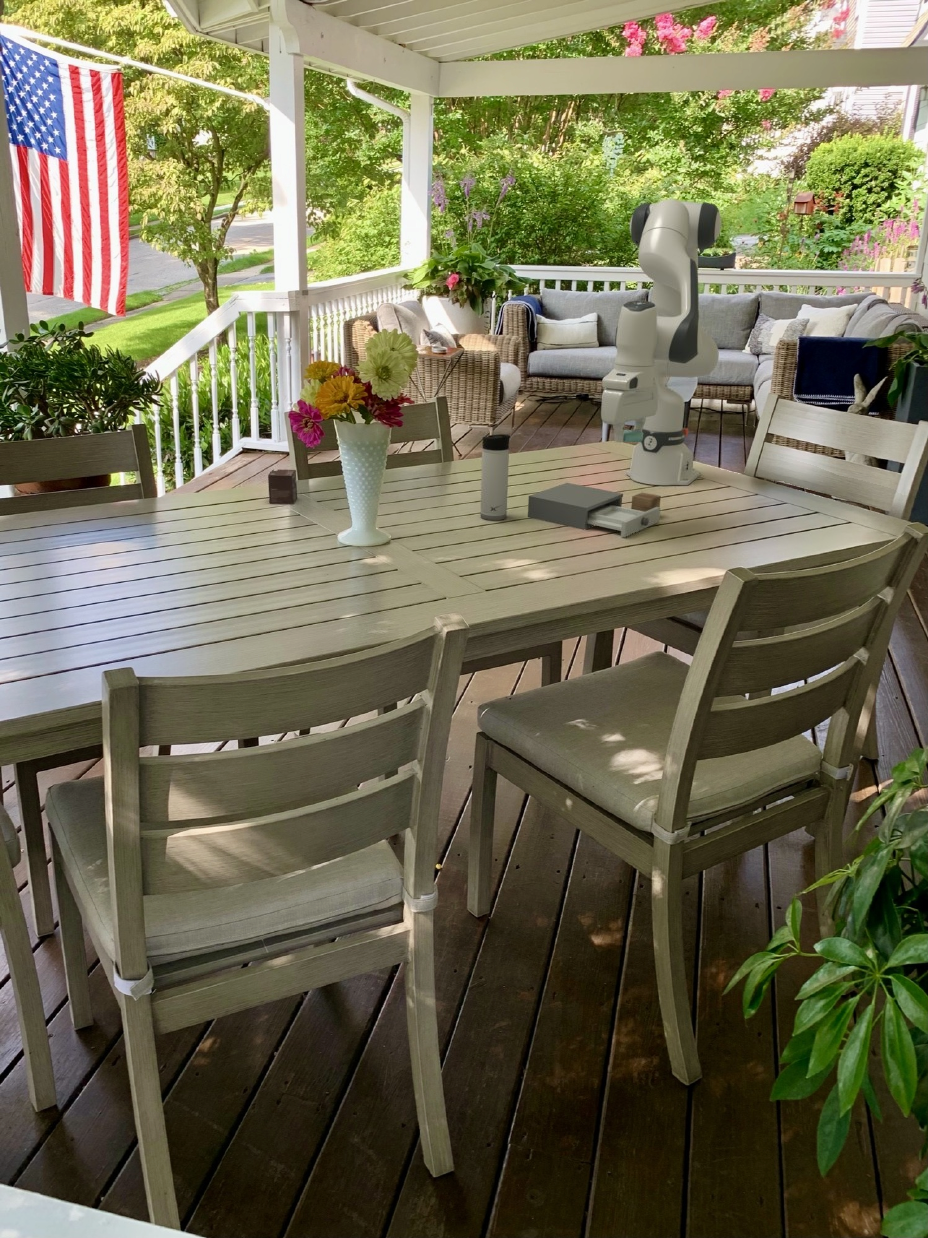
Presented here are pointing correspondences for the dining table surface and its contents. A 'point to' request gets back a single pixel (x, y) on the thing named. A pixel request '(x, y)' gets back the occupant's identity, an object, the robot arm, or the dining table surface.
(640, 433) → the teal flat dome
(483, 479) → the travel mug
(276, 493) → the box
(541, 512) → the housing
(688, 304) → the robot arm
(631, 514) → the light grey drawer
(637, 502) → the brown wooden cube
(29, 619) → the dining table surface
